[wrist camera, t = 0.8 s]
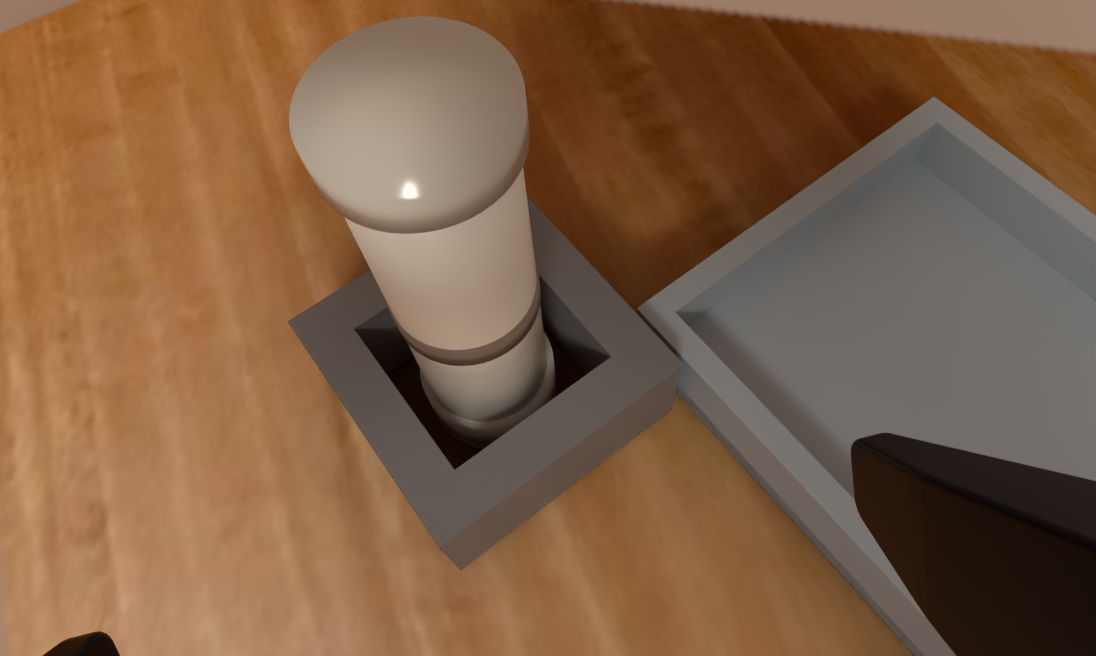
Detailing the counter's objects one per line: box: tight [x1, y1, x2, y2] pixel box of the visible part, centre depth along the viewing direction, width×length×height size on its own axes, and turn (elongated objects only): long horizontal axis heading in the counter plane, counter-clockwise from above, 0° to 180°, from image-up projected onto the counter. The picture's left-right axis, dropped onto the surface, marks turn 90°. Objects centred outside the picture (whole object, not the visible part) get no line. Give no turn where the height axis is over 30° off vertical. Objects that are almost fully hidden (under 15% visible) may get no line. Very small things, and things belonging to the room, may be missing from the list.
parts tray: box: [636, 97, 1096, 656], centre depth 22 cm, size 17×13×2 cm
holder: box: [288, 196, 684, 570], centre depth 23 cm, size 8×8×4 cm
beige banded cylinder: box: [289, 16, 557, 449], centre depth 19 cm, size 4×4×13 cm
